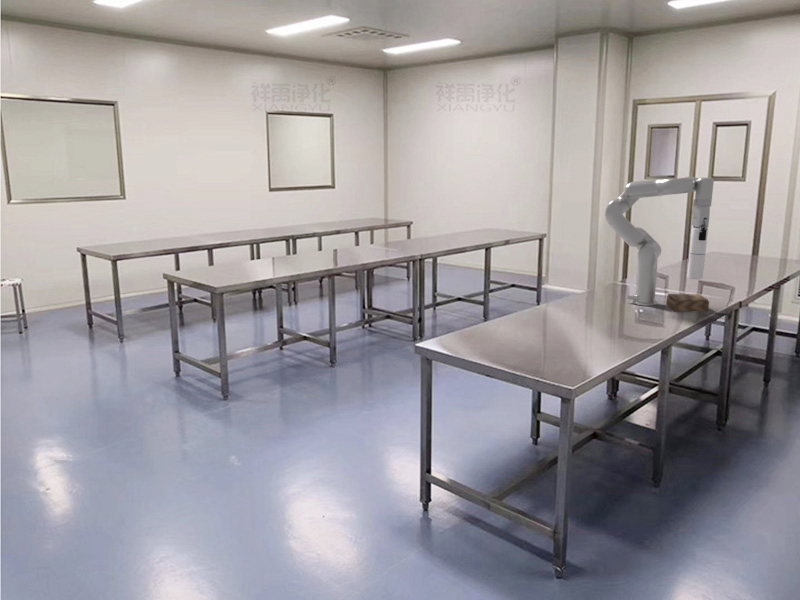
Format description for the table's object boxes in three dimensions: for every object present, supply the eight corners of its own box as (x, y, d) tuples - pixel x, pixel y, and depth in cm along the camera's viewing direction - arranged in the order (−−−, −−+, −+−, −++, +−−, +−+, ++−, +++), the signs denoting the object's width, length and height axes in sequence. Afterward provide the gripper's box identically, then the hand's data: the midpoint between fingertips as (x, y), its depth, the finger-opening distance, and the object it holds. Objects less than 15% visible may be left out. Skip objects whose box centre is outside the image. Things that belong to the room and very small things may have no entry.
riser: (674, 311, 316) (675, 299, 315) (666, 304, 330) (667, 293, 328) (708, 311, 314) (709, 300, 313) (698, 305, 328) (699, 294, 327)
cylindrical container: (694, 279, 314) (699, 229, 308) (683, 277, 321) (689, 228, 315) (705, 279, 316) (711, 229, 310) (695, 276, 323) (700, 227, 317)
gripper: (688, 201, 319) (684, 236, 323) (701, 204, 302) (697, 241, 306) (703, 202, 318) (699, 237, 322) (718, 204, 301) (713, 241, 305)
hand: (698, 239), depth 314 cm, fingers closed on cylindrical container, 7 cm apart
